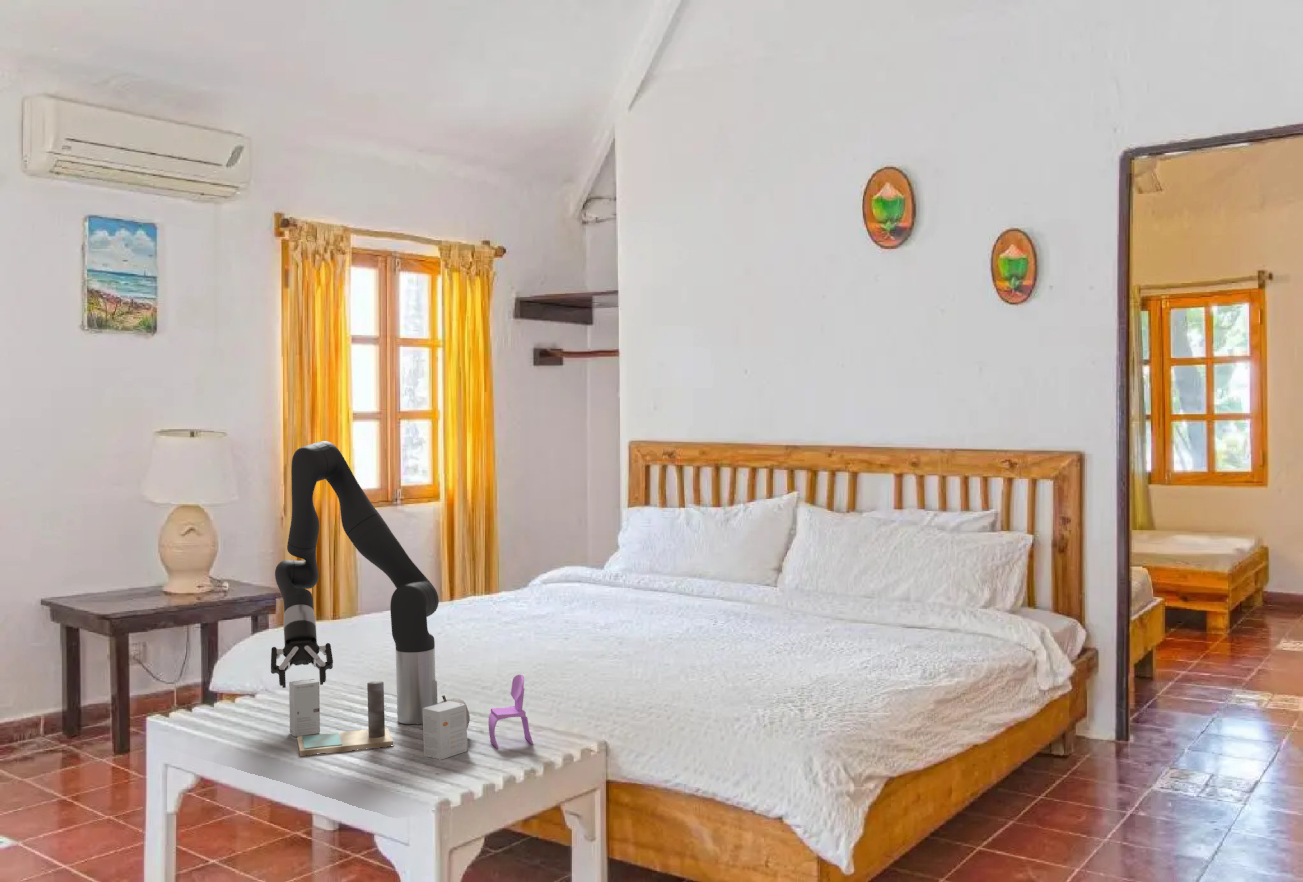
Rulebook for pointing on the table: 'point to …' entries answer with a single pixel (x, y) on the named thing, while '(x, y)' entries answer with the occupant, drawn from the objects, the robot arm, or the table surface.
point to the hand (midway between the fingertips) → (303, 684)
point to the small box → (444, 730)
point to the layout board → (354, 739)
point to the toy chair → (511, 710)
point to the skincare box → (304, 707)
